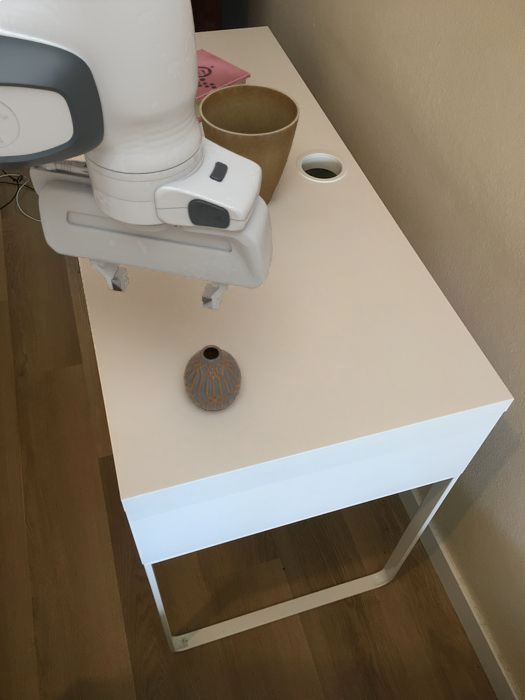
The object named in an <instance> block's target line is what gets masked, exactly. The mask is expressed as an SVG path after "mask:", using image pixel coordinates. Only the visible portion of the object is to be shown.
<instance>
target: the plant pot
mask: <svg viewBox="0 0 525 700" xmlns="http://www.w3.org/2000/svg"><path fill="white" fill-rule="evenodd" d="M199 111H200V116H201V125H202V130H203V135H204V137H205V138H206V139H208V140H210V141H212V142H213V143H215V144H217V145H219V146H221V147H223V148H225V149H227V150H229V151H231V152H233V153H235V154H237V155H240V156H242V157H244V158H246V159H249V160H251V161H253V162H255V163H256V164H258V165H259V166H260V168H261V170H262V181H261V187H260V192H259V196H260V197H261V198H262V199H263V200H264V201H265V203H266V205H267V206H268V204H269V203H270V201H271V199H272V196H273V195H274V193H275V191H276V188H278V185H279V182H280V180H281V177H282V175H283V173H284V170H285V167H286V165H287V162H288V160H289V156H290V153H291V149H292V146H293V141H294V139H295V135H296V130H297V128H298V127H297V126H298V123H299V119H300V116H301V115H300V114H301V109H300V106H299V104H298V102H297V101H296V99H294V98H293V97H292V96H291V95H289V94H288V93H286V92H285V91H283V90H280V89H278V88H275V87H271V86H267V85H261V84H254V83H253V84H252V83H250V84H249V83H246V84H241V85H233V86H227V87H223V88H220V89H217V90H215V91H213V92H211V93H210V94H208V95H207V96H206V97H205V98H204V99H203V100H202V102H201V104H200V107H199Z"/></svg>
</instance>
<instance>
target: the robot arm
mask: <svg viewBox="0 0 525 700" xmlns="http://www.w3.org/2000/svg"><path fill="white" fill-rule="evenodd" d="M197 50H198V48H197V37H196V30H195V22H194V15H193V8H192V1H191V0H0V171H17V170H23V169H29V177H30V179H31V183H32V186H33V188H34V191H35V193H36V194H37V195H38V209H39V210H38V211H39V216H40V222H41V228H42V231H43V236H44V239H45V241H46V244H47V245H48V246H49V247H50V248H51V250H53V251H54V252H56V253H57V254H59V255H64V256H68V257H75V258H81V259H86V260H89V263H90V266H91V267H93V269H94V270H96V272H98V273H99V274H100V276H102V277H103V278H104V279H105V280H106V285H107V288H108V290H109V291H113V292H121V293H125V292H126V288H127V287H128V286H129V283H130V276H128V274H129V272H128V268H125V267H130V268H136V269H141V270H147V271H151V272H157V273H163V274H168V275H174V276H180V277H185V278H191V279H196V280H202V281H207V282H211V283H206V285H205V287H204V290H203V293H202V294H201V302H202V304H201V305H202V308H206V309H211V310H216V311H218V310H219V308H220V305H221V303H222V301H223V295H224V294H225V293H226V292H227V291H228V289H229V287H230V286H235V287H240V288H246V289H250V290H256V289H258V288H260V287H261V286H262V285H263V284H265V283H266V281H267V279H268V276H269V273H270V270H271V267H272V266H271V265H272V262H273V252H274V251H273V250H274V248H273V246H274V243H273V242H274V241H273V228H272V220H271V214H270V210H269V207H268V204H267V205H266V203H265V201H264V200H263V199H262V198H261V197H260V196H259V192H260V187H261V181H262V170H261V168H260V166H259V165H258V164H256V163H255V162H253V161H251V160H249V159H246V158H244V157H242V156H240V155H237V154H235V153H233V152H231V151H229V150H227V149H225V148H223V147H221V146H219V145H217V144H215V143H213V142H212V141H210V140H208V139H206V138H205V136H203V134H202V133H203V132H202V128H201V125H200V122H199V121H198V119H197V116H196V112H195V97H196V93H197V89H198V62H197ZM82 155H83V156H84V160H80V159H73V158H76V157H79V156H82ZM121 266H124V267H121Z"/></svg>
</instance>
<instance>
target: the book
mask: <svg viewBox="0 0 525 700" xmlns="http://www.w3.org/2000/svg"><path fill="white" fill-rule="evenodd" d="M197 62H198V89H197V93H196V97H195V112H196V116H197V119H198V121H199V123H202V121H201V116H200V111H199V107H200V104H201V102H202V100H203V99H204V98H205V97H206V96H207V95H208V94H210V93H211V92H213V91H215V90H217V89H220V88H223V87H227V86H233V85H241V84H247V80H248V79H250V78H251V75H252V74H251V72H248V71H247V70H244V69H243V68H241V67H239V66H237V65H235V64H233V63H231V62H230V61H227V60H225V59H223V58H221V57H220V56H217V55H216V54H213V53H212V52H210V51H207V50H206V49H204V48H199V49H197Z"/></svg>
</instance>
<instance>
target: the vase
mask: <svg viewBox="0 0 525 700" xmlns="http://www.w3.org/2000/svg"><path fill="white" fill-rule="evenodd" d="M183 384H184V389H185V391H186V394H187V396H188V398H189V399H190V400H191V401H192V403H193V404H195V405H196V406H197V407H198V408H201V409H203V410H206V411H219V410H223V409H225V408H227V407H228V406H230V405H231V404H232V403H233V402H234V401H235V400H236V398H237V397H238V395H239V393H240V389H241V386H242V373H241V369H240V367H239V364H238V362H237V360H236V359H235V357H234V356H233V355H232V354H231V353H229V351H226V350H225V349H222V348H221V347H219V346H217V345H214V344H209V345H205V346H204V347H202V348H201V349H200V350H198V351H197V352H195V353H194V354H193V355H192V356H191V357H190V359H188V362H187V364H186V365H185V368H184V372H183Z"/></svg>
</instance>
